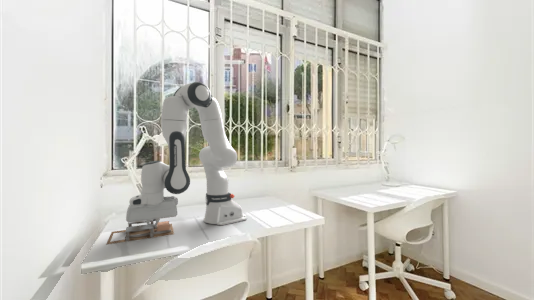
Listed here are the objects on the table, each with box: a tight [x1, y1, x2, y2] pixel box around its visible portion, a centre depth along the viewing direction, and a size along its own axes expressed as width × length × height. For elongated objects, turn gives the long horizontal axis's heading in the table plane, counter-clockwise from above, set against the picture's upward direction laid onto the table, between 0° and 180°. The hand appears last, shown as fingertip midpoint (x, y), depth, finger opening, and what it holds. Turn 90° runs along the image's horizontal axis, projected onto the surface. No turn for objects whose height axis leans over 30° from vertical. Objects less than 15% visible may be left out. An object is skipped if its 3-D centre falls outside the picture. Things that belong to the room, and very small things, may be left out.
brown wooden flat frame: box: [105, 220, 175, 246], centre depth 102 cm, size 24×14×6 cm, turn 116°
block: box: [157, 220, 171, 231], centre depth 106 cm, size 5×5×3 cm
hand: (152, 228), depth 104 cm, fingers closed
